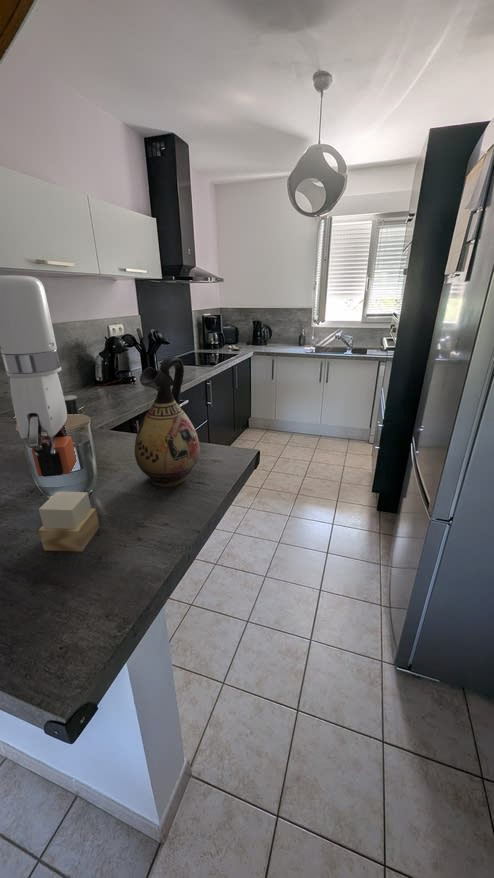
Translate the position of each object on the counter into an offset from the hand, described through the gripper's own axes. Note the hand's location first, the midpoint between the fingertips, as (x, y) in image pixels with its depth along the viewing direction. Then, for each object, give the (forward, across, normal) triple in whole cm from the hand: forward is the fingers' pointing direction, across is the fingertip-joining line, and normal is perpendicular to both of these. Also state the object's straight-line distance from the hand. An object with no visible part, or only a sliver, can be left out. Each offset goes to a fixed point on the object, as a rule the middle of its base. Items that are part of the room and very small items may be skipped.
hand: (57, 466), depth 62 cm
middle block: (+11, 0, 0) cm, 11 cm away
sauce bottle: (+15, -30, -5) cm, 34 cm away
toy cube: (0, 0, 0) cm, 0 cm away
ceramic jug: (+16, -21, +19) cm, 32 cm away
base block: (+15, 0, 0) cm, 15 cm away
